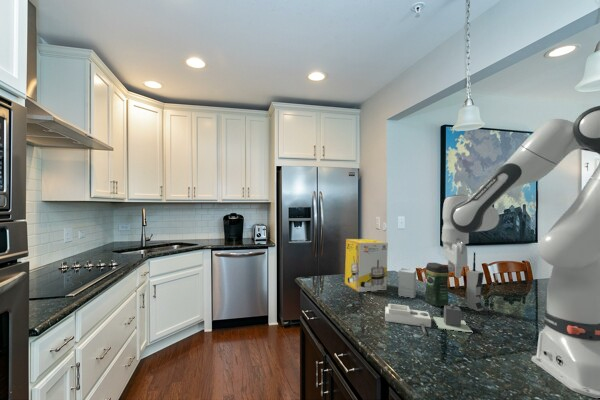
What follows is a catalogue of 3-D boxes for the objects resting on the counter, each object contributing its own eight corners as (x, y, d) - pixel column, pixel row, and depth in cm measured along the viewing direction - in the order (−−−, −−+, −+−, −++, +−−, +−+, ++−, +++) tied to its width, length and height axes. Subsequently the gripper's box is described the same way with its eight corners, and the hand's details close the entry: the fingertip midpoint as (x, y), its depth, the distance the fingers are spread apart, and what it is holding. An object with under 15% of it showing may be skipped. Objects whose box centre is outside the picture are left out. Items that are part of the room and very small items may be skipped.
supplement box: (416, 295, 145) (417, 270, 145) (413, 299, 139) (414, 272, 139) (401, 292, 149) (401, 268, 149) (397, 296, 143) (398, 270, 143)
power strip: (435, 337, 98) (435, 323, 98) (385, 330, 102) (386, 317, 102) (427, 319, 114) (427, 307, 114) (385, 313, 118) (385, 302, 118)
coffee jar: (451, 307, 129) (452, 265, 130) (436, 308, 127) (437, 265, 128) (436, 300, 139) (437, 261, 139) (422, 300, 137) (423, 261, 137)
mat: (472, 333, 102) (472, 332, 102) (438, 328, 105) (438, 327, 105) (464, 321, 112) (464, 320, 112) (433, 317, 115) (433, 316, 115)
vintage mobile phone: (477, 312, 124) (478, 253, 124) (466, 308, 128) (467, 251, 129) (482, 310, 126) (484, 253, 126) (471, 307, 130) (472, 251, 131)
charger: (460, 326, 106) (461, 307, 106) (445, 325, 107) (446, 305, 107) (457, 322, 110) (458, 303, 110) (443, 320, 111) (444, 302, 111)
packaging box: (358, 292, 147) (360, 242, 148) (344, 283, 163) (346, 239, 163) (386, 290, 152) (387, 242, 152) (370, 282, 167) (371, 239, 168)
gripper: (473, 241, 98) (472, 282, 98) (457, 235, 118) (456, 270, 118) (452, 240, 100) (451, 280, 100) (440, 235, 120) (439, 268, 119)
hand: (454, 274), depth 109 cm, fingers open, 8 cm apart
